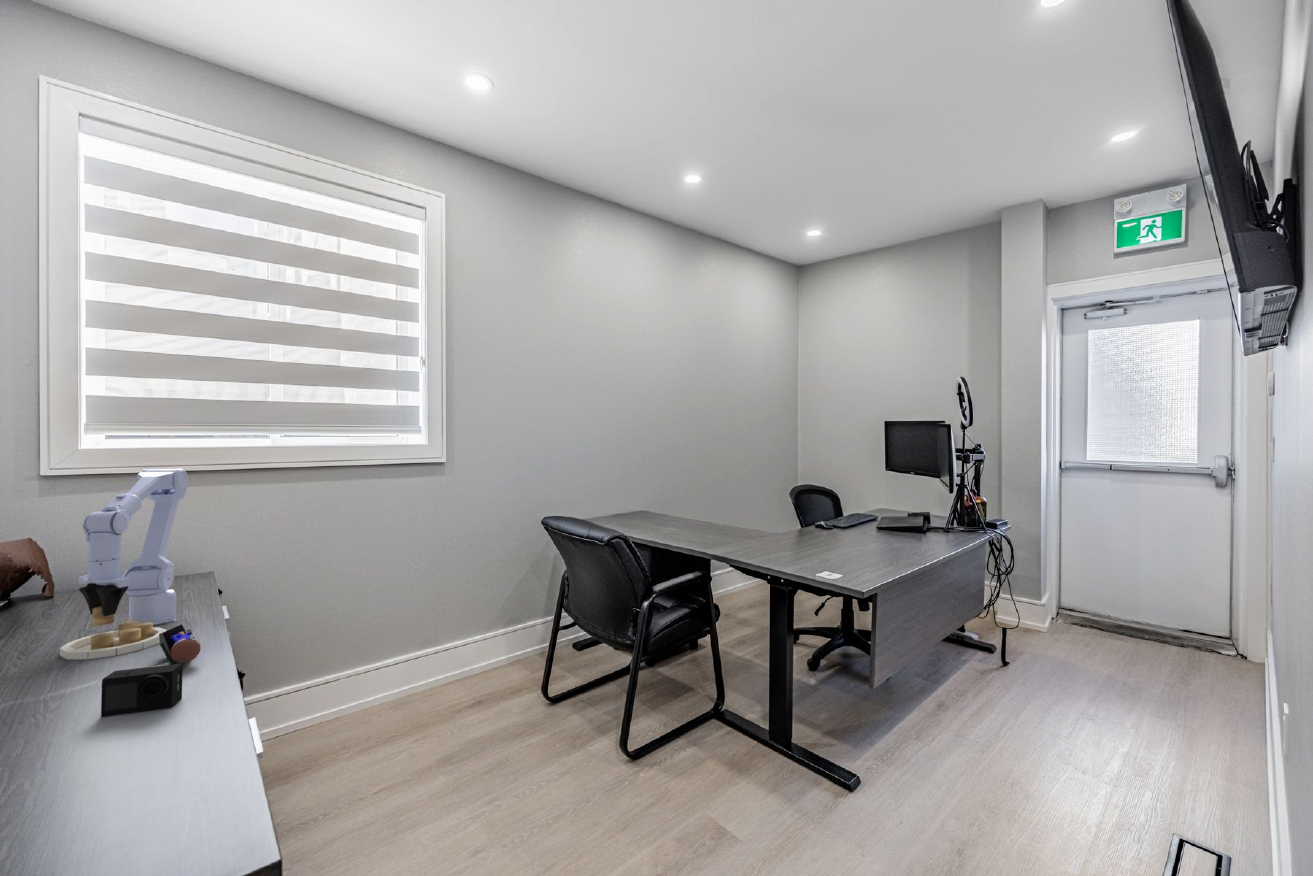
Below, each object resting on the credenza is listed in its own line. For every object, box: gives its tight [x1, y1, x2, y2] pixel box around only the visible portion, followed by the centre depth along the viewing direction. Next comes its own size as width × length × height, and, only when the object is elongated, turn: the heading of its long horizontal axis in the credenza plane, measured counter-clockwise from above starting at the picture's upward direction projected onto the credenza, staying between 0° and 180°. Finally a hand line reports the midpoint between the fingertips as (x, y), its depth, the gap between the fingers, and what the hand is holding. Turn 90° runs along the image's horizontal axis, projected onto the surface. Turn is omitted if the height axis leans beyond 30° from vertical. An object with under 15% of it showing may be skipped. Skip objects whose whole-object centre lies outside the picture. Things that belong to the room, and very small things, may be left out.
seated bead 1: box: [90, 632, 114, 650], centre depth 129 cm, size 4×4×4 cm
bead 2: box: [117, 620, 139, 637], centre depth 138 cm, size 4×4×4 cm
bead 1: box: [91, 606, 115, 627], centre depth 135 cm, size 4×4×4 cm
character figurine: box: [159, 624, 202, 665], centre depth 124 cm, size 8×7×15 cm
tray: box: [59, 626, 167, 660], centre depth 133 cm, size 18×18×2 cm
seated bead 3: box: [132, 622, 154, 641], centre depth 137 cm, size 4×4×4 cm
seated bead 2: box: [119, 628, 141, 646], centre depth 132 cm, size 4×4×4 cm
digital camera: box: [100, 663, 184, 718], centre depth 101 cm, size 10×5×7 cm, turn 111°
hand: (103, 614), depth 135 cm, fingers closed on bead 1, 4 cm apart
